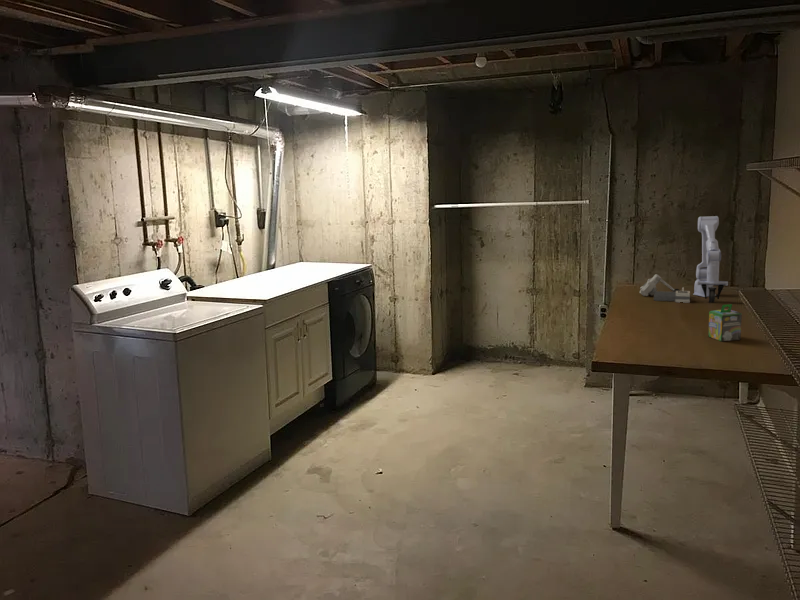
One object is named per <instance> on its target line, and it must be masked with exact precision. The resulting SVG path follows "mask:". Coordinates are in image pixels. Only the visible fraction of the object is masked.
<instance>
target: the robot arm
mask: <svg viewBox="0 0 800 600" xmlns="http://www.w3.org/2000/svg"><path fill="white" fill-rule="evenodd" d="M719 219H720V218H719V216H718V215H715V216H714V215H712V216H709V215H708V216H699V217H698V218H697V231H698V232H699V233H701V254H702V255H701V262H700V263H698V264H697V265H696V270H695V277H696V280H695V282H694V288H693V290H694V291H693V292H694V293H692V295H694V296H697V297H698V296H699V297H703V298H704V299H707V297H708V298H709V289H708V287H714V286H717V294H715V297H716V296H717V297H716V298H717V300H720V297H721V296H720V295H721V293H722V291H723V290H724V287H725V286H729V281H725V280H720V262H721V261H722V251H721V249H720V248H719V240H717V239H716V232H717V229H718V227H719V225H720V220H719Z"/></svg>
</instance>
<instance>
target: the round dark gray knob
mask: <svg viewBox="0 0 800 600" xmlns="http://www.w3.org/2000/svg"><path fill="white" fill-rule="evenodd" d="M708 289H709V297H708V303H715V302H716V301H715V299H716V296H715V295H716V291H717V287H716V286H713V287H708Z"/></svg>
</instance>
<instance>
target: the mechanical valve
mask: <svg viewBox="0 0 800 600" xmlns="http://www.w3.org/2000/svg"><path fill="white" fill-rule="evenodd" d="M659 282H661V283H662V284H663V285H664V286H666V287H667V288H668V289H670V290H671V292H676V291H681V290H680V289H679V288H673V286H671V285H670V284H669V283H668V282H666V281H665V279H662V277H661V276H660V274H658V273H656V274H654V275H653V277H651V278H648V279H647V282H645V283H644V284H643V285H642V286H640V288H639V289H640V290H639V294H641V295H642V297H648V296H650V297H651V296H654V291H658V288H657V284H658V283H659Z"/></svg>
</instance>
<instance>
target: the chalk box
mask: <svg viewBox="0 0 800 600" xmlns="http://www.w3.org/2000/svg"><path fill="white" fill-rule="evenodd" d="M727 307H728V308H727ZM732 307H733V303H728V304H727V303H726V304H722V305H721V309H715V310H710V311H708V338H712V339H713V340H716V341H719V342H732V341H733V342H734V341H740V340H741V335H742V317H743V313H742V312H739V311H735V310H732Z"/></svg>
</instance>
